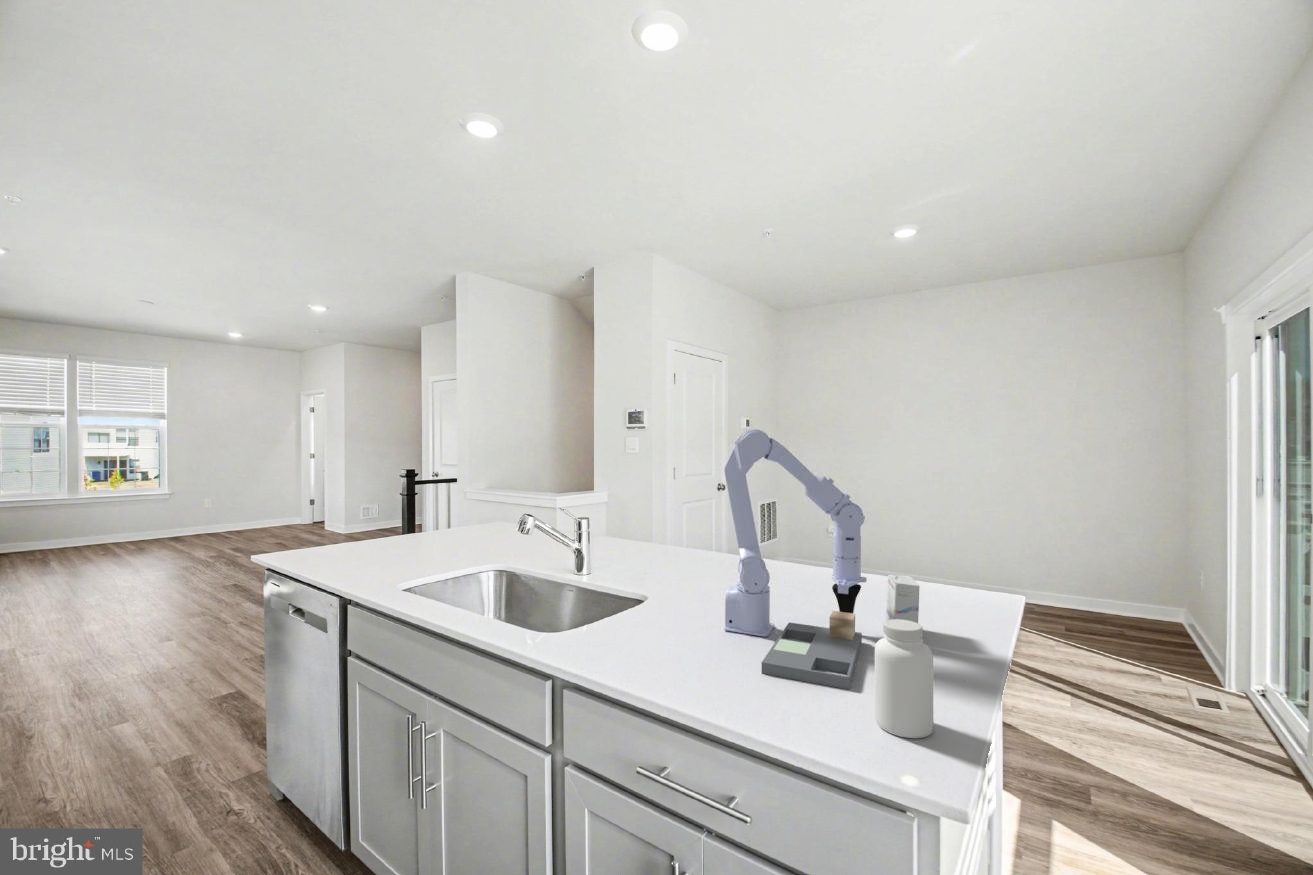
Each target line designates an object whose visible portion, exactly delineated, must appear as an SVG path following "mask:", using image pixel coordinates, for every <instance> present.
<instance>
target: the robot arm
mask: <svg viewBox="0 0 1313 875" xmlns="http://www.w3.org/2000/svg"><path fill="white" fill-rule="evenodd" d="M762 458H763V459H765V460H767V461H770V462H774V463H778V464H779V465H780V466H781V467H782V468H783V469H785V470H786V471H787V472H788V473H789V474H790V475H792V476H793V478H795V479H796V480H797V481H798V482H800V483H801V484H802V485H803V486H804V488H805V489H804V490H805V491H804V492H805V496H806V497H808V498H809V500H811V501H812V502H813V503H814V504H815V505H816V506H818V508H820V509H821V510H822V511H823V512H824V513H825V514H826V515H829V516H830V519H831V521H833V522H834V523H833V535H832V536H833V537H832V538H833V539H832V541H833V542H832V546H833V548H832V549H833V550H832V575H831V580H832V581H833V582H834V584H832V587H831V588H832V589H831V590H832V592H833V593H834V596H835V597H836V601H837V605H838V610H839V611H838V612H846V613H853V614H854V611H855V605H856V600H857V598H858V595H859V593H860V592H861V588H862V585H861V584H860V583H867V580H868V579H867V577H865V576H861V574H862V573H861V572H862V569H861V568H862V565H861V564H862V558H861V557H862V536H861V528H862V527H861V526H863V524H864V522H865V518H866V516H865V515H864V513H863V509H862V508H861V507H860V506H859V505H858V504H856V503H854V502H853V501H852V500H850V499H851V495H849V494H848V493H843V492H842V490H840V489H839V488H838V487H837V486H836V485H835V484H834V483H835V480H834V479H832V478H831V477H826V476H825V475H815V474H814V473H813V472H812V471H810V469H809V468H807V467H806V465H804V464H803V463H802V462H801V461H800V460H799V459H798V458H797V457H796V456H795V455H794V454H793V453H792V452H790V451H789V449H788V448H786V447H785V446H784V445H783V444H781V443H780V442H778V441H777V440H775V439H774V438H773V437H770V436H769V435H768V434H767V433H766V432H765V431H763V430H760V429H756V428H755V429H749V430H746V431H745V432H744V433H742V434H741V435H740V436H739V437H738V439H736V441H735V442H734V444H733V448H732V449H731V452H730V454H729V456H728V458H727V460H726V463H725V465H724V469H723V470H724V476H725V477H724V478H725V481H726V487H727V492H728V498H729V504H730V509H731V514H732V521H733V525H734V531H735V536H736V541H737V546H738V552H739V562H738V565H737V566H738V568H737V569H738V570H737V571H738V573H739V582H738V583H737V584H736V586H729V587H728V588H727V589H726V594H725V602H724V608H725V609H724V616H725V617H724V627H723V630H724V631H727V632H733V633H740V634H745V635H746V634H747V635H751V636H752V635H753V636H758V637H768V636H769V634H770V633H771V631H772V630H773V629H774V627H775V623H771V622H770V621H771V620H770V619H771V618H770V617H771V616H770V615H771V613H770V612H771V611H770V608H771V606H770V605H771V604H770V603H771V602H770V601H771V599H770V598H771V597H770V596H771V594H770V593H771V590H770V586H769V583H770V578H771V577H770V572H769V570H768V568H767V565H766V562H765V561H764V559H763V558H762V555H761V549H760V545H759V540H758V534H757V529H756V528H757V527H756V524H755V519H754V518H755V517H754V512H753V507H752V503H751V498H750V492H749V485H748V481H747V474H748V472H749V471H750V469H751V468H752V467H753V466H754V464H755V463H756V462H759V461H760V460H761V459H762Z"/></svg>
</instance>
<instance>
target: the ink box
mask: <svg viewBox="0 0 1313 875" xmlns="http://www.w3.org/2000/svg"><path fill="white" fill-rule="evenodd" d="M886 587H887V589H886V590H887V591H886V608H885V609H886V610H885V611H886V612H885V621H887V620H892V619H901V620H908V621H913V622H916V623H918V624H919V611H920V610H919V609H920V585H919V584H918V583H917V582H916V581H915V579H914V578H913V577H912V576H911V575H901V574H893V573H892V574H891V573H890V574H888V575H887V586H886Z"/></svg>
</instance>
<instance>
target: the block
mask: <svg viewBox="0 0 1313 875" xmlns="http://www.w3.org/2000/svg"><path fill="white" fill-rule="evenodd" d="M829 628H830V630H829V637H835V638H842V639H849V640H853V638H854V635H855V632H856V613H854V612H853V613H846V612H840V611H837V610H832V611H831V613H830V616H829Z"/></svg>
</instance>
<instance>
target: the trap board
mask: <svg viewBox="0 0 1313 875" xmlns="http://www.w3.org/2000/svg"><path fill="white" fill-rule="evenodd" d="M829 630H830V627H824V626H817V625H810V624H803V623H795V622H788V623H787V624H786V626H785V627H784V629H783V631H781V633H780V635H779V636H778V638H777V639H776V641H775V642H774V644H773V645H772V646H771V648H770V649H769V651H768V652H767V654H766V655H765V657H764V658H763V659H762V661H761V674H762V675H769V676H774V677H780V678H785V679H790V680H795V681H801V682H806V683H813V684H815V685H817V684H818V685H822V686H826V687H827V686H828V687H834V688H837V689H838V688H839V689H844V690H850V688H851V685H852V682H853V677H854V673H855V669H856V665H857V661H858V657H859V654H860V650H861V647H862V643H863V642H862V636H863V634H862V633H863V632H860V631H859V632H858V631H855V635H854V638H853V640H849V639H842V638H835V637H829ZM816 669H818V670H816ZM819 670H824V671H819ZM825 671H830V672H825ZM832 672H835V673H832ZM837 673H842V674H846V675H841V674H837Z"/></svg>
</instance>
